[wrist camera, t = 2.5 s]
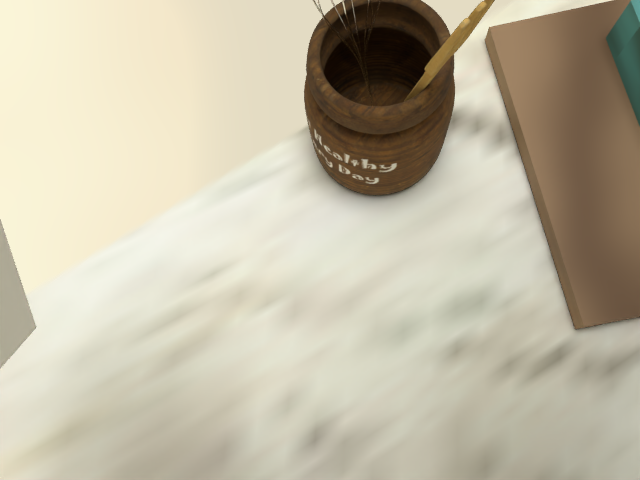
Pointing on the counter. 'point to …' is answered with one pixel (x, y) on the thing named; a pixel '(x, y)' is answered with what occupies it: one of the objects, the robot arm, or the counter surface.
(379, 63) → the utensil holder
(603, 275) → the cradle jig
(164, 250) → the counter surface
